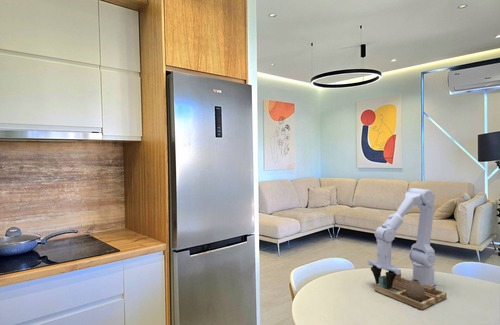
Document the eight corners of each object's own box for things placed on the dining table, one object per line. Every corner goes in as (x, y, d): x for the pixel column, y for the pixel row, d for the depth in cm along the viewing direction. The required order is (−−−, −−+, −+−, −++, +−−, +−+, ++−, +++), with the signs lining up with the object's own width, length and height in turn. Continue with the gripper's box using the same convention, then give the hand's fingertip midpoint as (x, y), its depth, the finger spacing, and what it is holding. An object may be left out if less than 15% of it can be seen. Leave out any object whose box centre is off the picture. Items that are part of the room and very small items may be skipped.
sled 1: (388, 285, 141) (388, 274, 141) (436, 302, 124) (436, 290, 124) (374, 290, 135) (374, 278, 135) (421, 309, 118) (422, 296, 118)
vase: (427, 306, 121) (427, 284, 121) (408, 304, 123) (408, 282, 123) (421, 298, 128) (421, 277, 128) (403, 297, 129) (403, 276, 129)
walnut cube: (425, 293, 134) (425, 284, 134) (435, 296, 130) (435, 287, 130) (420, 295, 131) (420, 286, 131) (430, 299, 128) (430, 289, 128)
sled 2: (399, 281, 145) (399, 270, 145) (446, 297, 128) (446, 285, 128) (389, 284, 141) (389, 273, 141) (437, 302, 124) (437, 289, 124)
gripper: (364, 251, 141) (363, 281, 141) (394, 260, 129) (393, 293, 129) (373, 249, 145) (373, 278, 145) (403, 258, 132) (403, 289, 133)
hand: (383, 285), depth 137 cm, fingers open, 5 cm apart
